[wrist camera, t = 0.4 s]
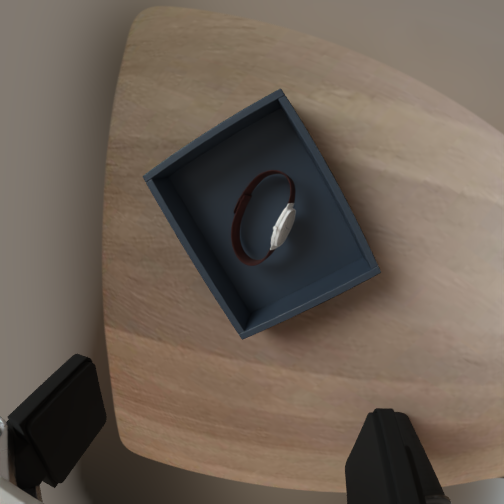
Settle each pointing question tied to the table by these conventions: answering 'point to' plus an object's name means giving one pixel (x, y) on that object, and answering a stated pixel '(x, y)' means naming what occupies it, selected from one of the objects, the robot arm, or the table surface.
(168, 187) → the tray
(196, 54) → the table surface
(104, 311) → the table surface
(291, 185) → the watch
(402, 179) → the table surface
